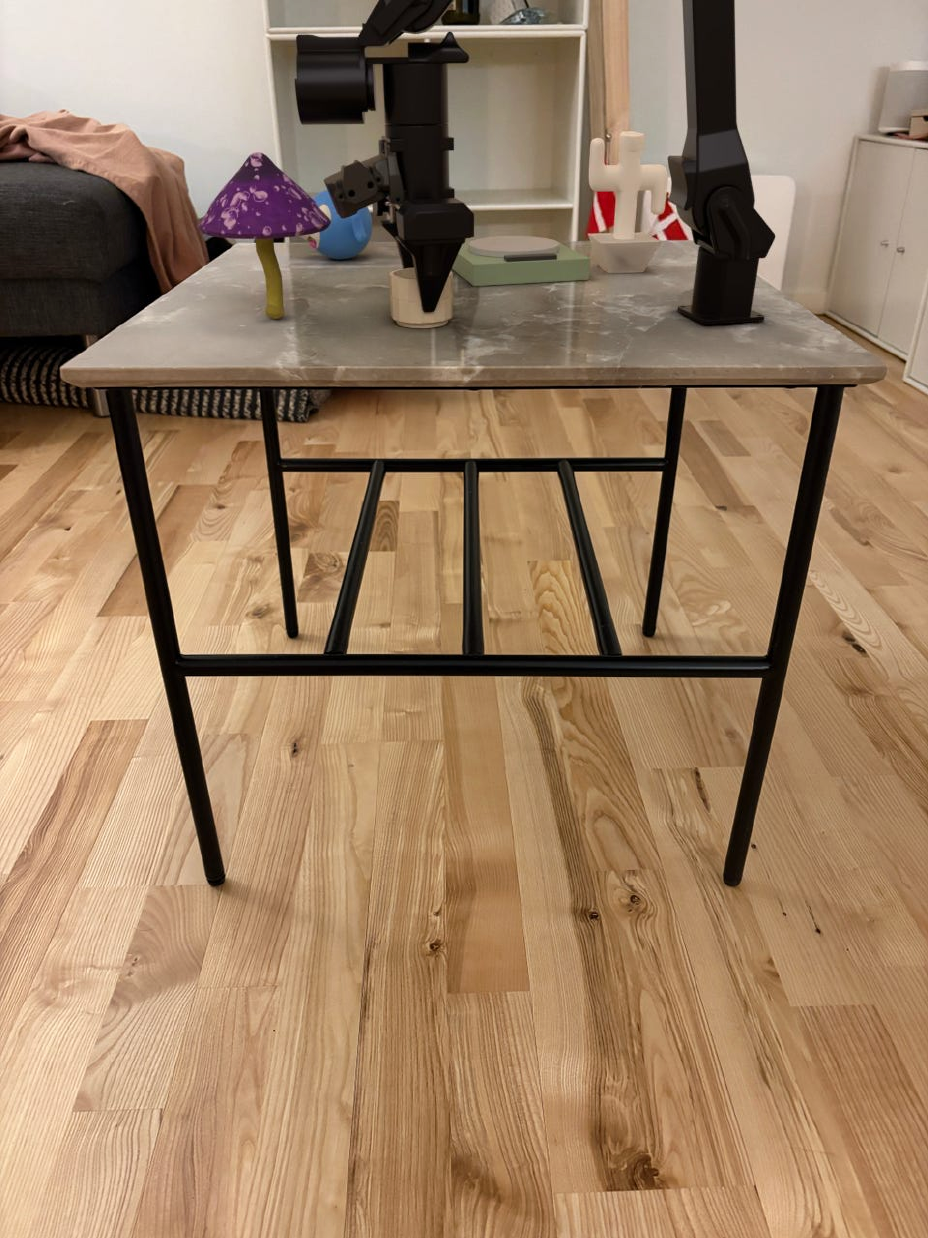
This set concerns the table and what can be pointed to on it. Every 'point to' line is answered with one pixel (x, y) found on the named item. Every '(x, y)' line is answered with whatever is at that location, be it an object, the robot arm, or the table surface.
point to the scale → (519, 261)
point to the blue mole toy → (341, 231)
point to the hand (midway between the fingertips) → (421, 304)
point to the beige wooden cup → (417, 301)
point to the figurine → (626, 203)
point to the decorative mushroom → (264, 217)
